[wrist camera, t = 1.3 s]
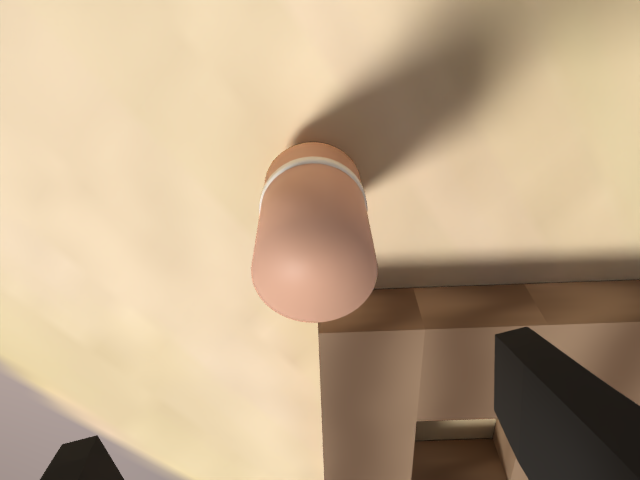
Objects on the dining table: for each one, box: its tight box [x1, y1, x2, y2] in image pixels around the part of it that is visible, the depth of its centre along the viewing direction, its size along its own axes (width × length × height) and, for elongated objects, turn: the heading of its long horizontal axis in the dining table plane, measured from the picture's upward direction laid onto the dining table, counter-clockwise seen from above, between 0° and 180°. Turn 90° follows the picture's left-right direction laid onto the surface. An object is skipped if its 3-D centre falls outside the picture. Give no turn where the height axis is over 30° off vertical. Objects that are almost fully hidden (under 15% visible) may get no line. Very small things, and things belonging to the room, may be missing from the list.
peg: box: [251, 142, 378, 323], centre depth 16 cm, size 3×3×6 cm
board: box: [318, 280, 640, 480], centre depth 23 cm, size 16×12×2 cm
